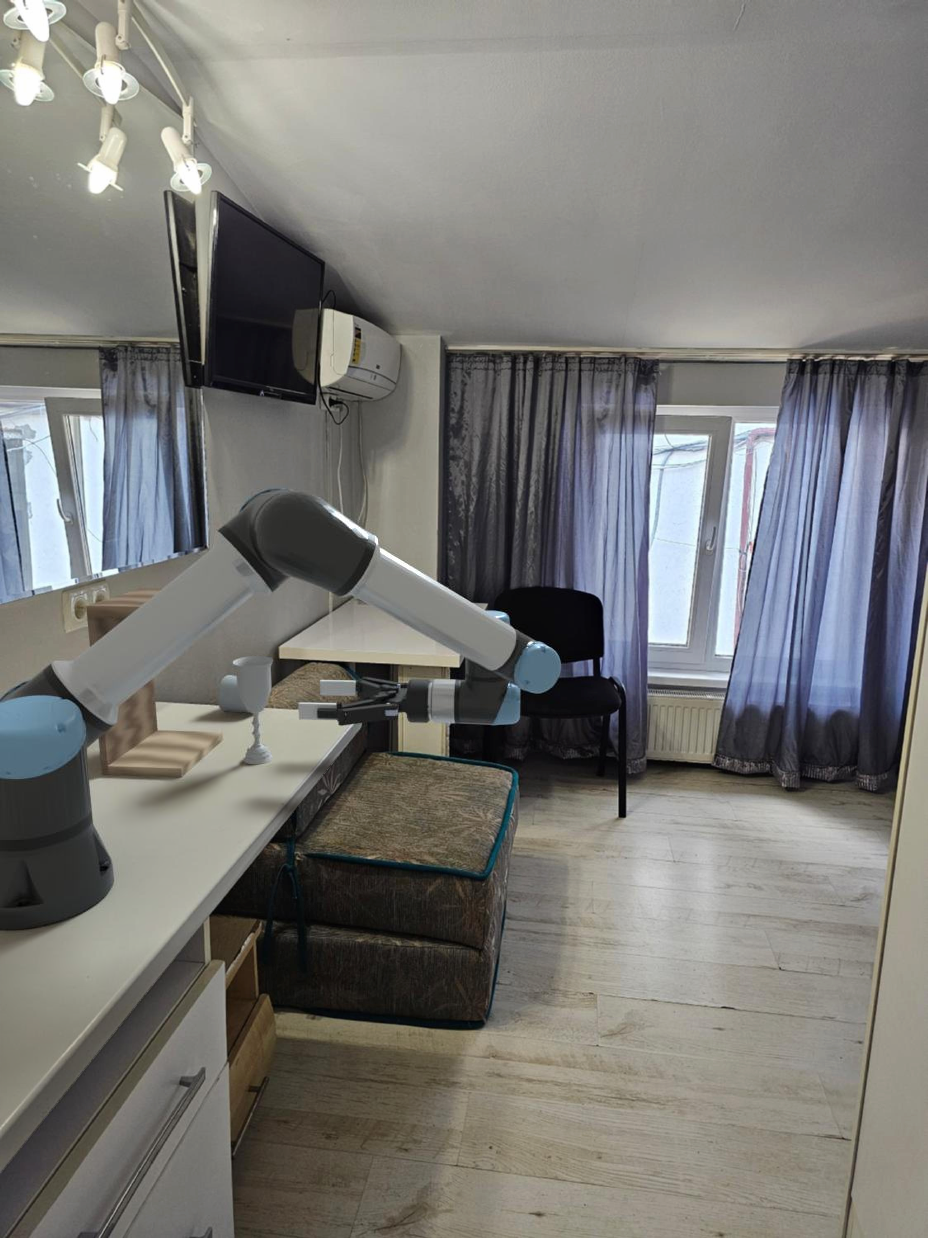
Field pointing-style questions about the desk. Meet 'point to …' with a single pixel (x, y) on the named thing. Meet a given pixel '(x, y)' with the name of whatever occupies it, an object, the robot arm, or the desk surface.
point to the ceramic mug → (230, 695)
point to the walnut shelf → (142, 712)
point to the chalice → (254, 699)
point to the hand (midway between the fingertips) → (310, 698)
